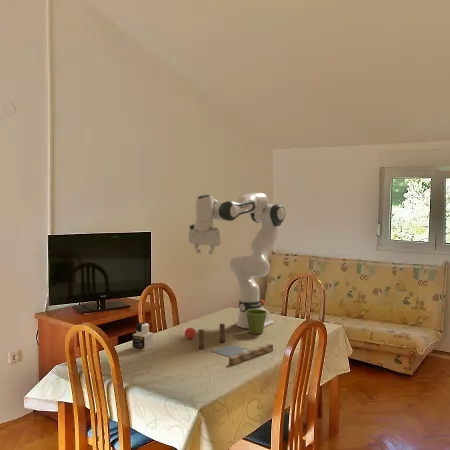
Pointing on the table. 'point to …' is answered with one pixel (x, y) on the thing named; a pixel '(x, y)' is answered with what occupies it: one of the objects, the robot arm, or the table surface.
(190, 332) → the ball
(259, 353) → the stopper wall
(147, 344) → the medicine bottle
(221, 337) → the post
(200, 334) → the post
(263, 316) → the plant pot
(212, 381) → the table surface
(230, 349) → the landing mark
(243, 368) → the table surface
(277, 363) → the table surface
